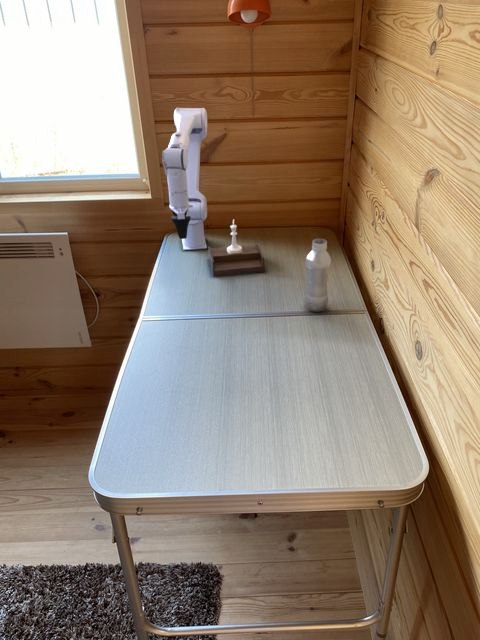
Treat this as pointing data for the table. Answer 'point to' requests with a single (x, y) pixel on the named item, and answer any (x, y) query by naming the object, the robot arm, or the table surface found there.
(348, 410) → the table surface
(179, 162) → the robot arm
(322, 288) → the plastic bottle
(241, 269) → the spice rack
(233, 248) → the chess piece
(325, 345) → the table surface
